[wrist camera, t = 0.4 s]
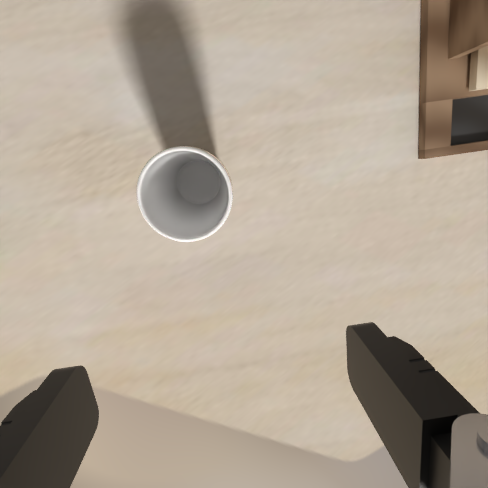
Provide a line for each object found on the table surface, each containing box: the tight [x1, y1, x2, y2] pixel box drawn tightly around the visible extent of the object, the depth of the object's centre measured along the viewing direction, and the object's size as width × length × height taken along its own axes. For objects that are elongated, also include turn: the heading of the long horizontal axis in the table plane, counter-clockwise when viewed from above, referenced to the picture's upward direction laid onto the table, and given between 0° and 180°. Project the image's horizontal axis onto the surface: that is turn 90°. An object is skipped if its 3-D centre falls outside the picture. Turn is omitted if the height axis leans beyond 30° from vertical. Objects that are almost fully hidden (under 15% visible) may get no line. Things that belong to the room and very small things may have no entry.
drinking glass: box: [137, 146, 233, 242], centre depth 29 cm, size 7×7×15 cm
